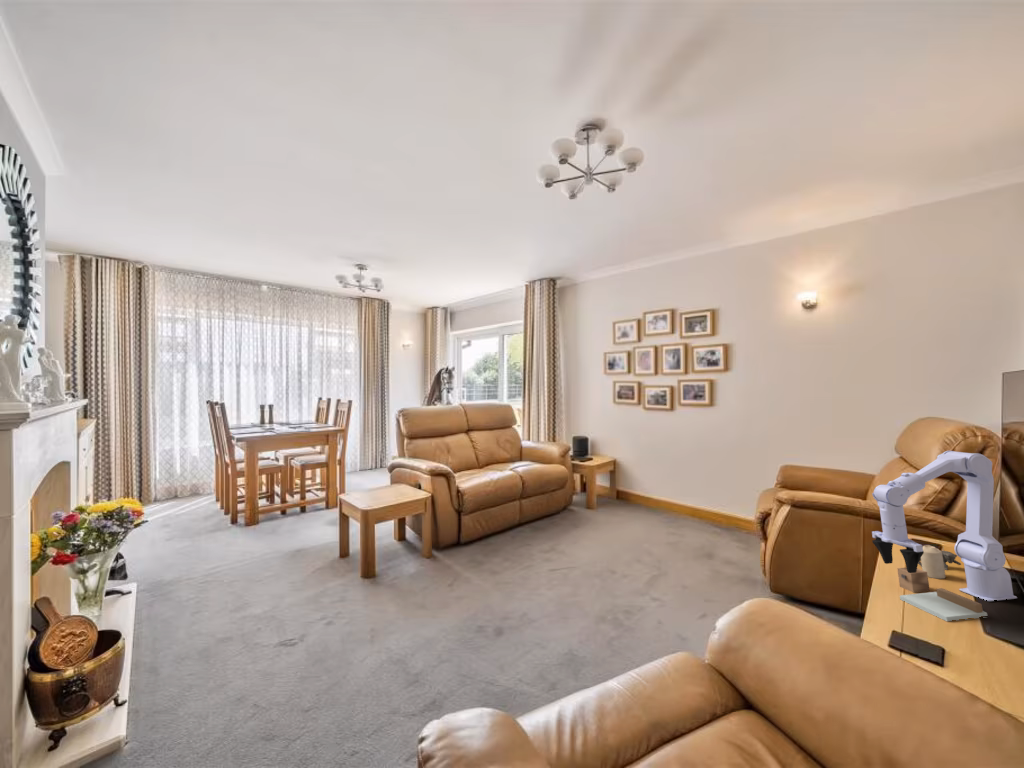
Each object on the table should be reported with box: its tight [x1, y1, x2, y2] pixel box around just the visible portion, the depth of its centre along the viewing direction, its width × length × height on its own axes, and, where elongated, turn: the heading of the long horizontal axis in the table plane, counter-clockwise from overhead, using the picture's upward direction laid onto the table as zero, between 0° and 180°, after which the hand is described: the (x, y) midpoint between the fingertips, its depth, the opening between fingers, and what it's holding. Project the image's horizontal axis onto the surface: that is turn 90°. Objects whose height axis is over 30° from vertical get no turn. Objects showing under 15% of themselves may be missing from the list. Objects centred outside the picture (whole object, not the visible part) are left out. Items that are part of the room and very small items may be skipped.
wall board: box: [899, 587, 988, 622], centre depth 123 cm, size 12×14×3 cm
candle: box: [920, 544, 946, 580], centre depth 143 cm, size 6×6×10 cm
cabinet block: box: [897, 567, 931, 594], centre depth 135 cm, size 6×4×6 cm
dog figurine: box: [918, 550, 962, 571], centre depth 149 cm, size 12×6×7 cm, turn 45°
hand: (899, 567), depth 130 cm, fingers open, 7 cm apart
